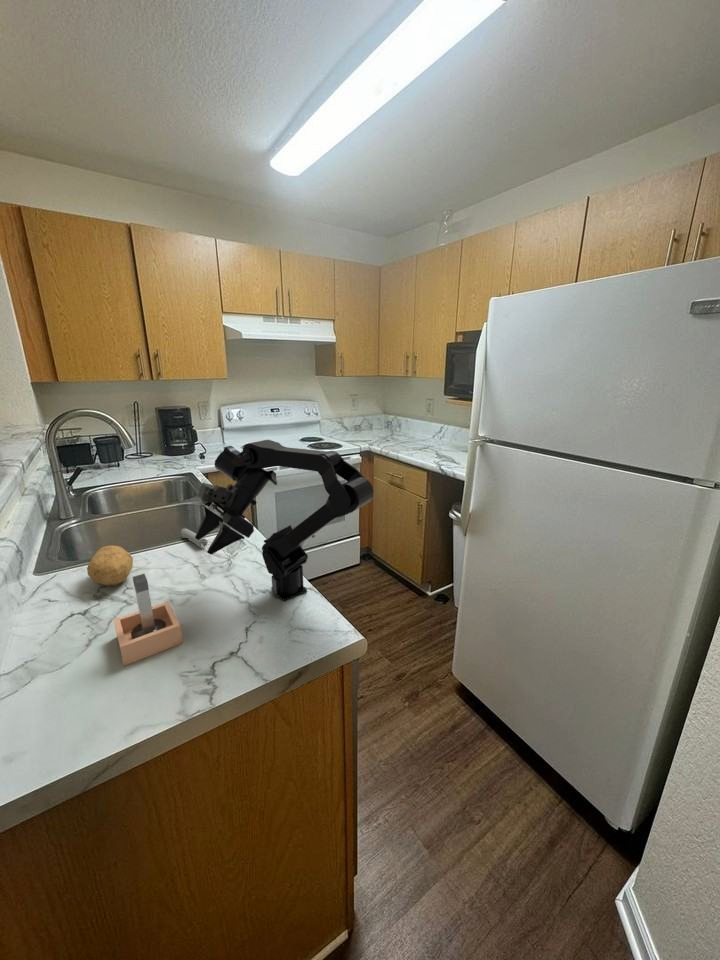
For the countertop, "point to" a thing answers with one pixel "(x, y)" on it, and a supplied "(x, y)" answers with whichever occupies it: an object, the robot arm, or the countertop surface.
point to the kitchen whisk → (201, 543)
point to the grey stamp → (144, 609)
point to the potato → (110, 565)
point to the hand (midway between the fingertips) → (202, 546)
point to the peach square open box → (149, 642)
